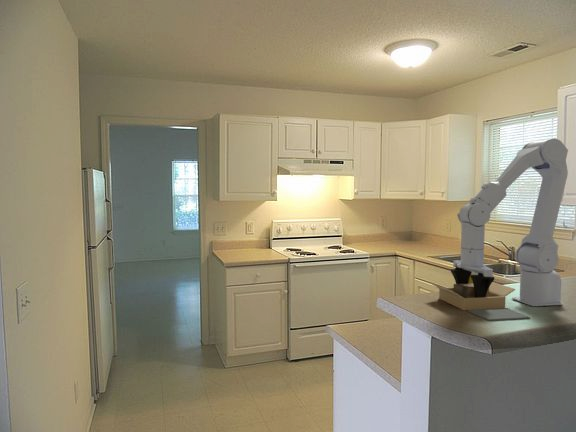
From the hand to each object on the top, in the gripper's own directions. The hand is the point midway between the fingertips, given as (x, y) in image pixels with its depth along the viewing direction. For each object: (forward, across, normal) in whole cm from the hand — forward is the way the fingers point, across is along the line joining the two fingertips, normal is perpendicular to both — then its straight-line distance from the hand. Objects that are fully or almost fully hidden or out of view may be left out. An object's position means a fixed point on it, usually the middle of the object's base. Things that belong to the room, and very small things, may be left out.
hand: (470, 298), depth 112 cm
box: (+2, 0, 0) cm, 2 cm away
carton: (+1, 0, 0) cm, 1 cm away
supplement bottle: (+2, -11, +8) cm, 14 cm away
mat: (+1, +11, 0) cm, 11 cm away
